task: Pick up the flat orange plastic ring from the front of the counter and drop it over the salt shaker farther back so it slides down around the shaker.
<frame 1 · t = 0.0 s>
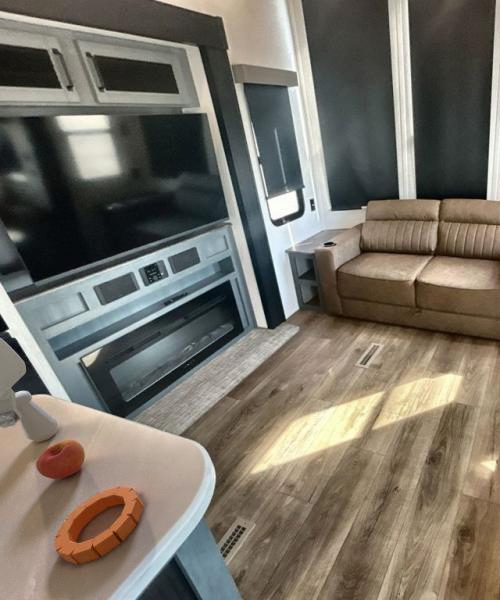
orange ring: (105, 527, 65), on the table
apple: (72, 472, 77), on the table
salt shaker: (47, 436, 88), on the table
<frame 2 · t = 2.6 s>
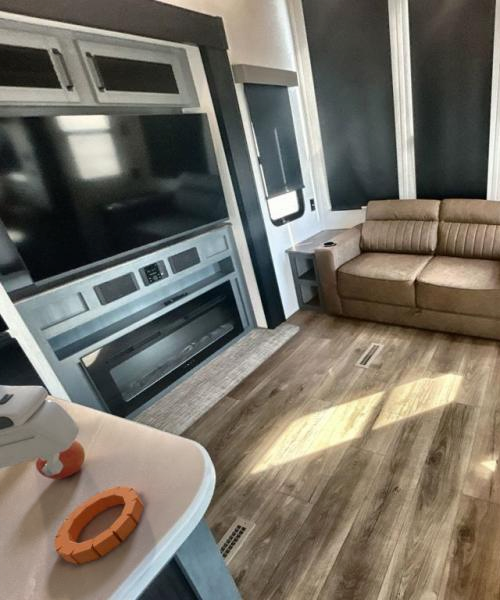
hand: (21, 481, 57), 16 cm above the table, tool pointing down, fingers open, 8 cm apart
nothing on the table moved.
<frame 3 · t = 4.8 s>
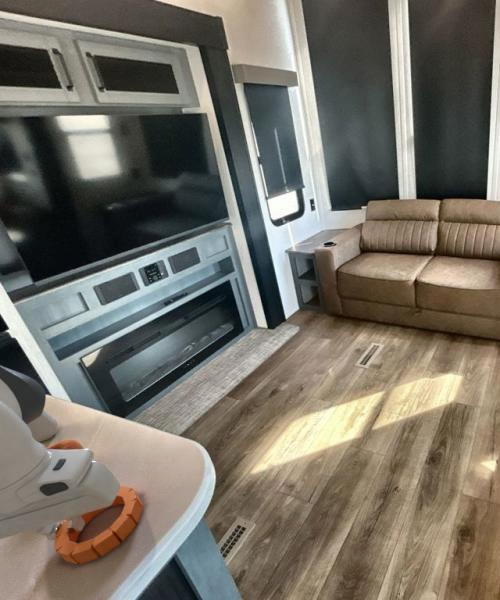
hand: (68, 531, 63), 2 cm above the table, tool pointing down, fingers closed on orange ring, 2 cm apart
orange ring: (105, 527, 65), on the table, touching gripper
everything else where it was.
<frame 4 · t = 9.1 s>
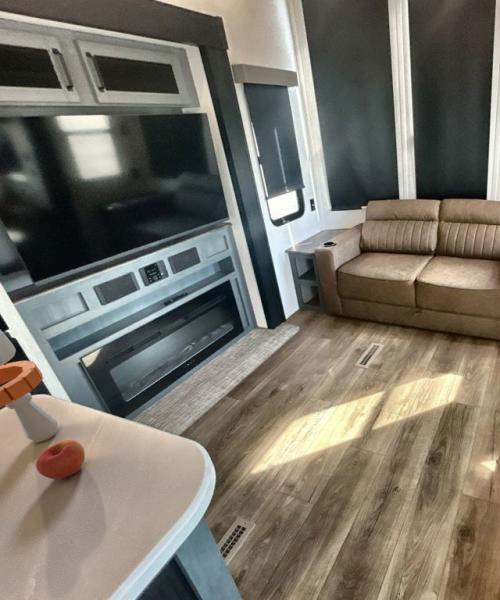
orange ring: (3, 392, 70), point 21 cm above the table, touching gripper
everything else where it was.
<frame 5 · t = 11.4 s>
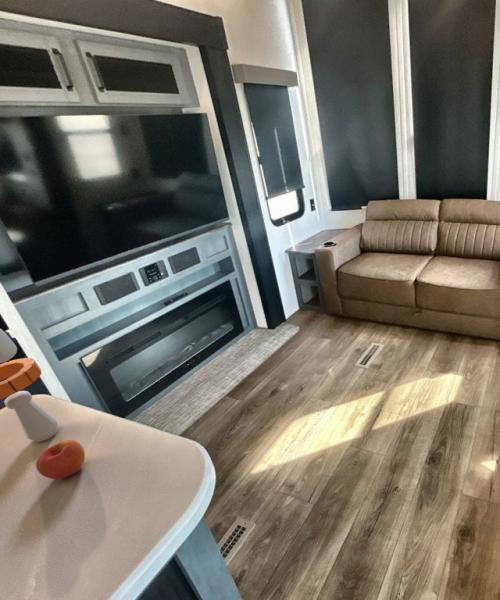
orange ring: (7, 385, 81), point 16 cm above the table, touching gripper
everything else where it was.
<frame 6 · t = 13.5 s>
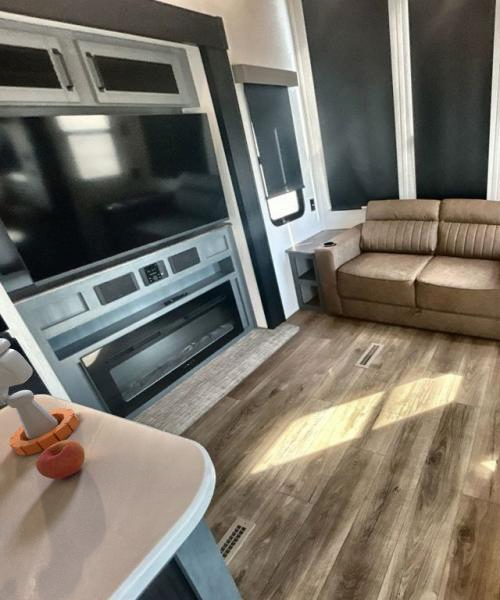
orange ring: (49, 435, 88), on the table
salt shaker: (47, 436, 88), on the table, touching gripper
everything else where it was.
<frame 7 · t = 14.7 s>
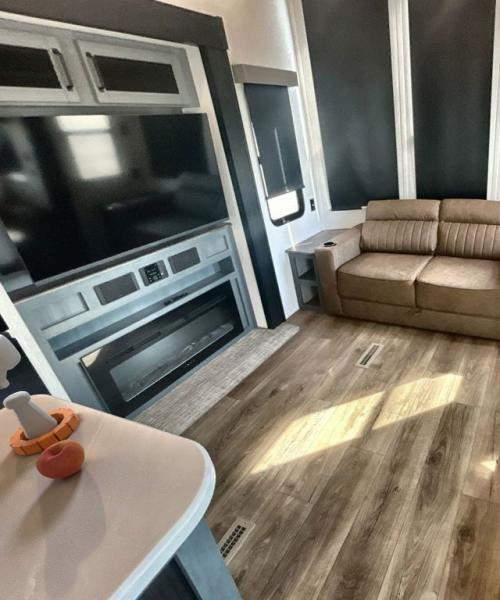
salt shaker: (47, 436, 88), on the table
everything else where it was.
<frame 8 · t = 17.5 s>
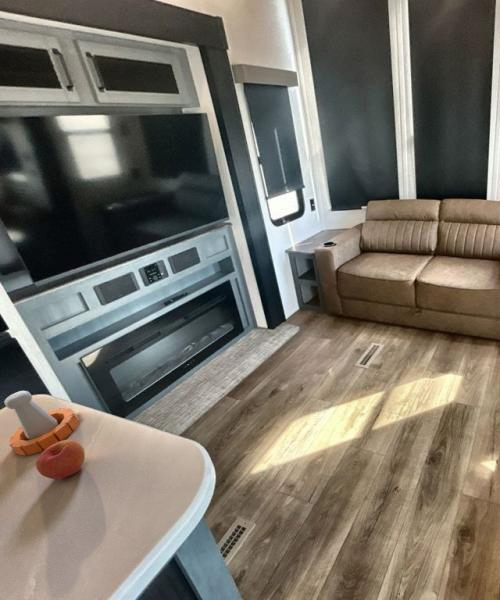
nothing on the table moved.
at the end: orange ring 0.4 cm from the salt shaker (horizontally); orange ring on the table; salt shaker tilted 0° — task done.
